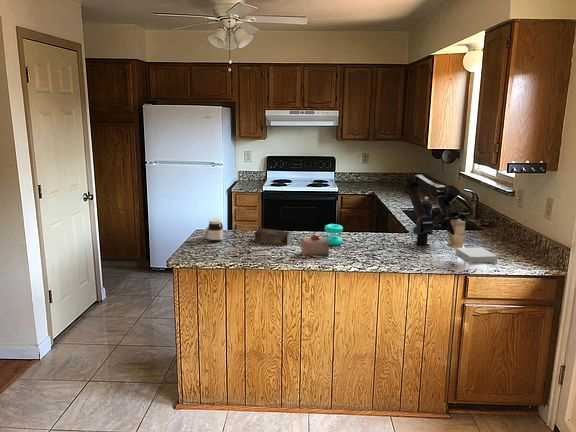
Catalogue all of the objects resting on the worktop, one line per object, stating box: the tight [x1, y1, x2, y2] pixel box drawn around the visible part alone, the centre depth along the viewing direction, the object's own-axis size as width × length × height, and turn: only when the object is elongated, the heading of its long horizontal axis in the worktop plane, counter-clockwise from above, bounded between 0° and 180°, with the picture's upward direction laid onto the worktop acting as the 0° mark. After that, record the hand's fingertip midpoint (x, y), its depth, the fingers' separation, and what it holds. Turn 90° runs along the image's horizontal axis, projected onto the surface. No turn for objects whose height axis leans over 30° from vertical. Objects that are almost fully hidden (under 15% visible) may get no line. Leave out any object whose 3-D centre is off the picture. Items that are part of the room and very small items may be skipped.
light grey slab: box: [455, 246, 498, 264], centre depth 231 cm, size 14×14×3 cm
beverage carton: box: [254, 227, 293, 246], centre depth 251 cm, size 8×19×7 cm, turn 72°
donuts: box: [324, 223, 344, 246], centre depth 250 cm, size 10×10×10 cm
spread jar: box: [202, 218, 224, 243], centre depth 252 cm, size 12×11×12 cm
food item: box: [300, 234, 330, 257], centre depth 231 cm, size 14×8×10 cm, turn 97°
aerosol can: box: [421, 196, 434, 218], centre depth 280 cm, size 8×8×20 cm
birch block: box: [447, 219, 466, 249], centre depth 224 cm, size 5×5×13 cm
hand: (458, 234), depth 222 cm, fingers closed on birch block, 5 cm apart
